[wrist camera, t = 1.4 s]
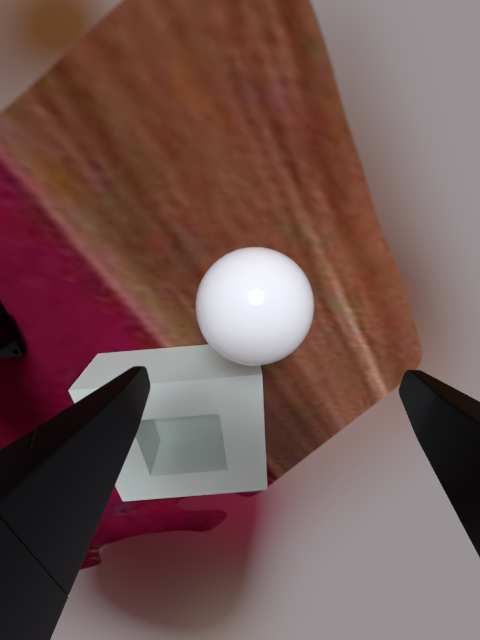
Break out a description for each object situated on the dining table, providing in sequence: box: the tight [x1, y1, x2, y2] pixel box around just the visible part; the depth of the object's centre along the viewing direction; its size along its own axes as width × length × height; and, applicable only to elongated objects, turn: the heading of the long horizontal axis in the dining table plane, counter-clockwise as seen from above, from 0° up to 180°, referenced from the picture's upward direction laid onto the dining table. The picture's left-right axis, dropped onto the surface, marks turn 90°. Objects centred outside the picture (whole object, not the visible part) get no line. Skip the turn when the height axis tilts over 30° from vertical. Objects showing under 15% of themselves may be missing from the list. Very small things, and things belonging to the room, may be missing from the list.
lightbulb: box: [196, 247, 314, 366], centre depth 16 cm, size 6×6×11 cm
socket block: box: [68, 344, 267, 501], centre depth 26 cm, size 15×15×5 cm
